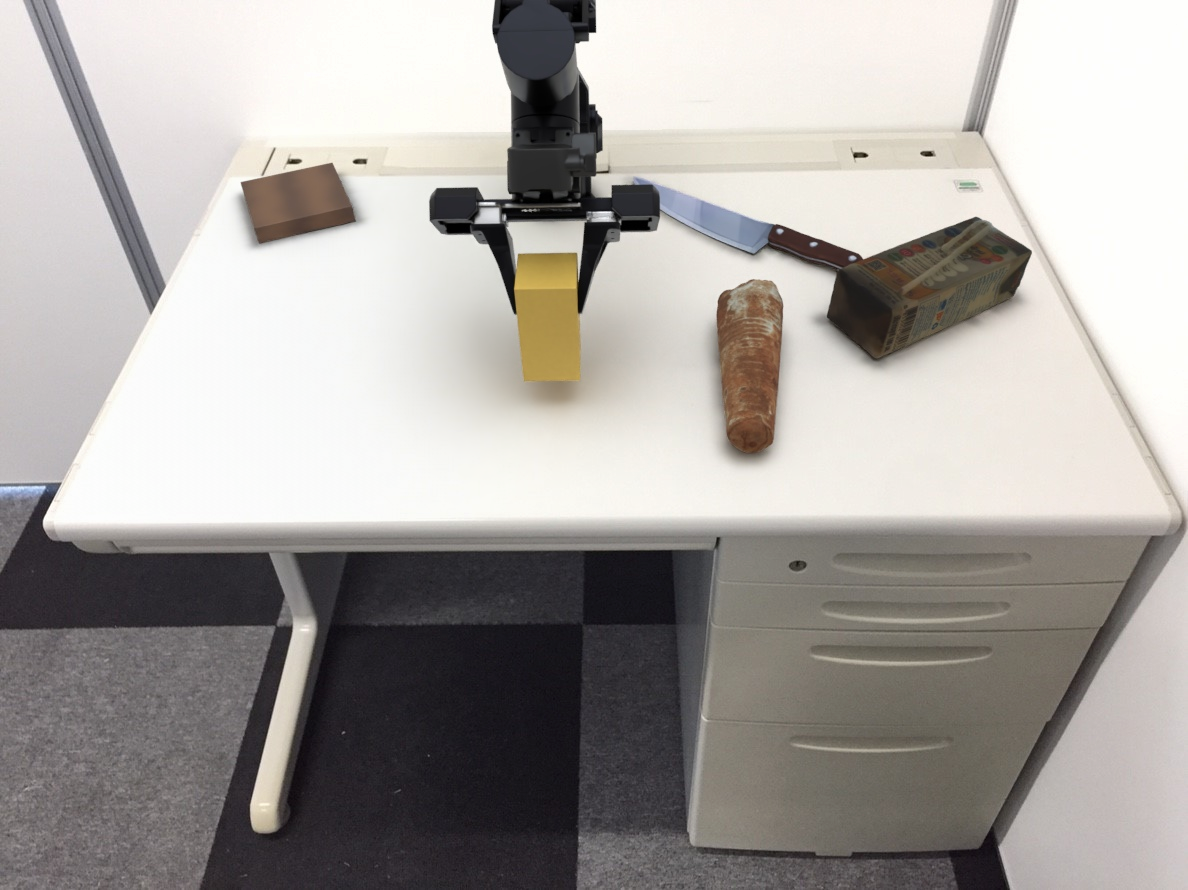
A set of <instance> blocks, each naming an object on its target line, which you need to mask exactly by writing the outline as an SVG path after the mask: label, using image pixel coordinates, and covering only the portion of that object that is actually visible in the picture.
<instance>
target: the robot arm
mask: <svg viewBox="0 0 1188 890" xmlns="http://www.w3.org/2000/svg"><path fill="white" fill-rule="evenodd" d="M491 31H492V36H493V40H494V43H495V44H496V47H497V53H498V56H499V59H500V63H501V67H502V70H503V74H504V78H505V81H506V84H507V86H508V88H509V91H510V140H511V141H510V142H511V144H510V145H511V146H509V147H507V149H506V151H507V160H506V161H507V162H506V164H507V165H506V172H507V173H506V174H507V176H506V177H507V181H506V182H507V183H506V184H507V193H508V195H511V198H494V199H493V198H492V199H491V198H490V199H487V198H486V199H485V198H484V197H483V194H482V193H481V191H480V190H479V189H480V188H479V187H478V186H474V187H473V186H470V187H469V186H467V187H436V188H435V189H434V190H433V192H432V193H431V195H430V196H429V200H428V206H429V207H428V209H429V211H428V213H429V214H428V215H429V222H430V223H431V225H433V227H434V228H435V229H436V230H437V231H438V232H439V234H440V235H445V236H473V237H474V239H475V241H476V242H477V243H478V244H480V245H488V247H489V249H490V251H491V254H492V255H493V258H494V259H495V262H496V264H497V266H498V269H499V272H500V276H501V278H502V283H503V285H504V288H505V291H506V295H507V297H508V300H509V301H508V302H509V304H510V306H511V310H512V313H513V315H515V316H517V311H516V302H515V292H514V287H515V277H516V268H517V263H516V256H515V248H514V240H513V237H512V235H511V233H510V231H509V229H508V228H509V223H540V222H541V223H543V222H584V226H583V236H582V247H581V248H582V249H581V257H580V265H579V272H578V290H577V298H578V314H580V315H583V313H584V310H585V307H586V303H587V299H588V297H589V293H590V290H591V287H592V283H593V280H594V277H595V274H596V271H597V268H598V266H599V264H600V262H601V260H602V258H603V255H604V254H605V251H606V249H607V246H608V244H610V243H618V242H620V240H621V233H652V232H657V231H658V228H659V222H660V219H661V209H660V193H659V191H658V190H657V189H656V188H655V186H654V185H653V184H645V185H635V184H611V191H610V193H611V194H610V195H611V196H610V197H607V196H605V197H595V195H594V194H593V193H592V177H594V178H595V177H596V176H597V158H598V157H597V154H599V153H601V152H603V150H604V145H603V142H604V141H603V140H604V137H603V117H602V116H601V115H600V114H599V113H598V111H599V110H598V109H597V106H596V105H597V104H596V103H590V86H589V85H588V83H587V81H586V79H585V78H584V76H583V74H582V73H581V71H580V69H579V67H578V61H577V60H578V59H577V46H576V45H577V44H580V43H585V42H587V43H588V42H590V34H597V1H596V0H494V5H493V13H492V24H491Z"/></svg>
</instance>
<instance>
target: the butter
mask: <svg viewBox="0 0 1188 890" xmlns="http://www.w3.org/2000/svg"><path fill="white" fill-rule="evenodd" d="M578 260H579V259H578V252H535V253H533V252H531V253H530V252H529V253H528V252H527V253H526V252H525V253H517V260H516V277H515V287H514V292H515V302H516V311H517V315H516V320H517V331H518V339H519V348H520V359H521V368H522V369H521V371H522V379H523V380H522V381H523V382H577V381H578V382H579V381H580V382H581V363H582V362H581V361H582V360H581V359H582V336H581V314H578V298H577V290H578V282H579V262H578Z"/></svg>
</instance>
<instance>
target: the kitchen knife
mask: <svg viewBox="0 0 1188 890" xmlns="http://www.w3.org/2000/svg"><path fill="white" fill-rule="evenodd" d="M632 180H633V183H634V185H645V184H653V185H654V186H655V188H656V189H657V190H658V191H659V193H660V211H661V212H664V214H666V215H668V216H670V217H672V218H674V219H675V220H677V221H678V222H681V223H683V224H684V225H686V226H688V227H689V228H691V229H694V230H695V231H698V232H700V233H702V234H704V235H706V236H709V237H710V238H713V239H715V240H717V241H720V242H722V243H724V244H727V245H730V246H732V247H735V248H737V249H739V250H743V251H745V252H748V253H751V254H755V253H757V252H758V251H759V250H761V249H762V248H763V247H764V246H766V245H767V244H768V246H770V248H773V249H775V250H779V251H782V252H785V253H789V254H791V255H793V256H795V257H797V258H800V259H801V260H803V261H806V262H808V263H813V264H818V265H823V266H826V267H829V268H832V269H835V270H837V271H838V270H839V269H841V268H844V267H846V266H848V265H850V264H853V263H856V262H858V261H861V260H863V259H864V257H863V256H862V255H861V254H859V253H858V252H855V251H852V250H849V249H847V248H844V247H842V246H839V245H836V244H833V243H831V242H828V241H825V240H824V239H820V238H817V237H813V236H811V235H808V234H805V233H803V232H800V231H797V230H795V229H793V228H790V227H787V226H785V225H782V224H779V223H775V224H774V223H771V222H770V223H769V222H766V221H762V220H759V219H756V218H753V217H750V216H748V215H745V214H743V213H740V212H737V211H734V210H731V209H728V208H726V207H724V206H720V205H717V204H715V203H712V202H709V201H706V200H704V199H701V198H699V197H695V196H692V195H689V194H687V193H684V192H681V191H679V190H675V189H673V188H670V187H667V186H665V185H661V184H659V183H657V182H654V181H651V180H648V179H645V178H642V177H638V176H633V178H632Z"/></svg>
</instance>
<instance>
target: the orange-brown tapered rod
mask: <svg viewBox="0 0 1188 890" xmlns="http://www.w3.org/2000/svg"><path fill="white" fill-rule="evenodd" d="M715 315H716V328H717V331H716V332H717V334H716V335H717V345H718V346H717V347H718V353H719V354H718V355H719V359H718V361H719V368H720V380H721V393H722V402H723V412H724V419H725V420H724V421H725V433H726V438H727V440H728V442H729V444H731V445H732V446H733V447H735V448H736V449H738V450H739V451H741V452H744V453H746V454H755V453H758V452H762V451H764V450H765V449H767V448H769V447H770V446H771V445H772V444H773V443H774V438H775V427H776V414H777V406H778V405H777V404H778V392H779V381H780V379H779V378H780V367H781V366H780V364H781V351H782V336H783V323H784V321H783V320H784V300H783V298H782V296H781V294H780V292H779V289H778V287H777V284H776V283H774V281H773V280H767V279H755V278H752V279H749V280H748V281H746V282H743V283H740V284H739V285H738V286H735V288H732V289H726V290H723V291H722V292H721V294H720V295H719V297H718V299H717V308H716V314H715Z"/></svg>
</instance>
